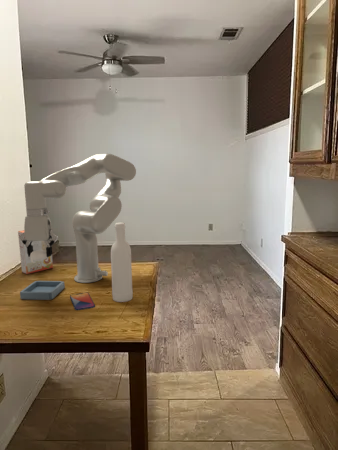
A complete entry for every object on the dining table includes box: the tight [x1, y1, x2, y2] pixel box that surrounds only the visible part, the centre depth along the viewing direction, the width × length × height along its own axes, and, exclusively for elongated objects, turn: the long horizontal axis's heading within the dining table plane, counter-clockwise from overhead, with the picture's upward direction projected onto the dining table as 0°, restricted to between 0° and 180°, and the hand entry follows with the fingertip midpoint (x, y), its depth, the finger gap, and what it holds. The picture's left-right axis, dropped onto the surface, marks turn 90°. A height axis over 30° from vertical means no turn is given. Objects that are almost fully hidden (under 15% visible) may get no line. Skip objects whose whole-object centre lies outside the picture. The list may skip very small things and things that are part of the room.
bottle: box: [110, 221, 134, 303], centre depth 137 cm, size 8×8×30 cm
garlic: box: [30, 250, 48, 263], centre depth 142 cm, size 8×7×4 cm
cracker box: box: [17, 229, 54, 275], centre depth 176 cm, size 14×6×21 cm, turn 136°
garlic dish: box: [19, 280, 66, 301], centre depth 146 cm, size 13×14×3 cm
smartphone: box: [69, 292, 96, 311], centre depth 136 cm, size 7×15×1 cm, turn 23°
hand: (40, 255), depth 144 cm, fingers closed on garlic, 7 cm apart
